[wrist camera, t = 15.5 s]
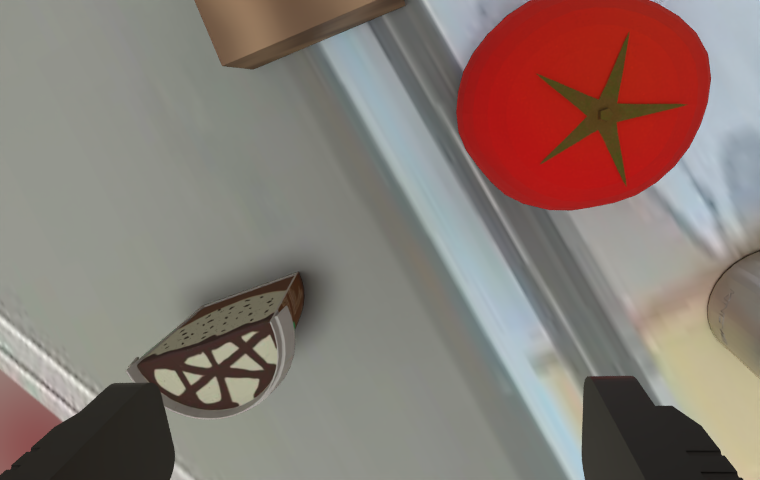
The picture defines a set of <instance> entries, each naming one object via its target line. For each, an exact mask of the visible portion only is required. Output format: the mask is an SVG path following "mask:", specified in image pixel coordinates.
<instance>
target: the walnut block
mask: <svg viewBox="0 0 760 480" xmlns="http://www.w3.org/2000/svg"><path fill="white" fill-rule="evenodd" d="M195 3H196V5H197V8H198V10H199V12H200V15H201V17H202V19H203V22H204V24H205V26H206V29H207V31H208V34H209V36H210V38H211V41H212V43H213V45H214V48H215V50H216V52H217V55H218V57H219V60H220V62H221V64H222V66H227V67H236V68H245V69H255V68H258V67H260V66H263V65H265V64H267V63H270V62H272V61H274V60H277V59H279V58H282V57H284V56H286V55H289V54H291V53H293V52H296V51H298V50H301V49H303V48H305V47H308V46H310V45H313V44H315V43H317V42H320V41H322V40H324V39H327V38H329V37H332V36H334V35H336V34H339V33H341V32H343V31H346V30H348V29H351V28H353V27H355V26H358V25H360V24H363V23H365V22H367V21H370V20H372V19H374V18H377V17H379V16H382V15H384V14H386V13H389V12H391V11H394V10H396V9H398V8H401V7H403V6H405V2H404V0H195Z"/></svg>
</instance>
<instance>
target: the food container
mask: <svg viewBox="0 0 760 480" xmlns="http://www.w3.org/2000/svg"><path fill="white" fill-rule="evenodd" d="M303 305H304V288H303V283H302V279H301V277H300V274H299V272H296V273H293V274H290V275H288V276H285V277H282V278H279V279H276V280H274V281H271V282H268V283H265V284H262V285H260V286H257V287H254V288H251V289H248V290H246V291H243V292H240V293H237V294H234V295H232V296H229V297H226V298H223V299H220V300H218V301H215V302H212V303H209V304H206V305H204V306H202V307H201V308H199V309H198V310H197V311H196V312H195V313H194V314H192V315H191V316H190V317H189V318H188V319H186V320H185V321H184V322H183V323H182V324H180V325H179V326H178V327H177V328H176V329H174V330H173V331H172V332H171V333H170V334H168V335H167V336H166V337H165V338H164V339H162V340H161V341H160V342H159V343H158V344H156V345H155V346H154V347H153V348H152V349H150V350H149V351H148V352H147V353H146V354H144V355H143V356H142V357H141V358H140V359H139V357H137V358H135V359H134V361H133V362H132V363H131V364H130V365H129V366H128V369H127V370H126V372H127V374H128V375H129V377H130V378H131V379H132V381H133V382H134V383H154V384H156V385H157V386H158V388H159V390H160V392H161V395H162V399H163V403H164V408H166V409H168V410H170V411H172V412H175V413H178V414H181V415H184V416H187V417H192V418H197V419H209V420H210V419H223V418H227V417H232V416H235V415H237V414H240V413H242V412H244V411H247V410H249V409H251V408H253V407H254V406H256V405H258V404H259V403H260V402H262V401H263V400H264V399H265V398H266V397H267V396H268V395H270V394H271V393H272V392H273V391H274V390H275V389H276V388H277V387H278V386H279V384H280V383H281V382H282V381H283V379H284V378H285V376H286V374H287V372H288V371H289V369H290V366H291V363H292V360H293V357H294V350H295V328H296V326H297V323H298V320H299V318H300V315H301V313H302V309H303Z"/></svg>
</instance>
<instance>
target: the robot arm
mask: <svg viewBox="0 0 760 480" xmlns="http://www.w3.org/2000/svg"><path fill="white" fill-rule="evenodd" d="M708 320H709V324H710V327H711V330H712V332H713V333H714V335H715V337H716V339H717V340H718V341H719V342H720V343H721V344H722V345H723V346H724V347H725V348H726V349H728V350H729V351H730V352H731V353H732V354H733V355H734V356H735V357H736V358H738V359H739V360H740V361H741V362H742V363H743V364H744V365H745V366H746V367H747V368H749V370H751V371H752V372H753V373H754V374H755V375H756V376H757V377H758V378H759V379H760V251H759V252H757V253H754V254H752V255H749V256H747V257H745V258H744V259H742V260H740V261H739V262H737V263H736V264H734V265H733V266H732V267H731V268H730V269H729V270H728V271H726V272H725V273H724V274H723V276H722V277H721V278H720V280H719V281H718V282H717V284H716V285H715V287H714V289H713V292H712V294H711V296H710V300H709V305H708ZM174 461H175V451H174V445H173V441H172V437H171V433H170V429H169V424H168V420H167V416H166V412H165V408H164V403H163V399H162V395H161V392H160V390H159V388H158V386H157V385H156V384H154V383H114V384H111V385H110V386H108V387H107V388H106V389H105V390H104V391H103V392H101V393H100V394H99V395H98V396H97V397H96V398H95V399H94V400H93V401H91V402H90V403H89V404H88V405H87V406H86V407H85V408H84V409H83V410H82V411H80V412H79V413H78V414H76V415H74V416H73V417H71V418H69V419H67V420H66V421H64V422H62V423H61V424H59V425H57V426H56V427H54V428H53V429H52V430H51V431H50V432H49V433H47V435H45V436H44V437H43V438H42V439H41V440H40V441H38V442H37V443H36V444H35V445H34V446H33V447H32V448H31V451H30V452H26V453H25V454H24V455H23V456H21V457H20V458H19V459H18V460H17V461H16V462H15V463H13V464H12V467H11V469H10V470H6V471H4V472H3V473H2V474H1V475H0V480H170V478H171V475H172V472H173V468H174ZM582 464H583V471H584V476H585V480H743V479H742V478H739V477H738V474H737V471H736V470H735V468H734V467H733V466H732V465H731V463H730V462H729V461H728V459H727V458H726V457H725V456H722V455H721V451H720V449H719V448H718V447H717V445H716V444H715V443H714V442H713V440H712V439H711V438H710V436H709V435H708V434H707V433H706V431H705V430H704V429H703V428H702V426H701V425H699V424H698V423H696V422H695V421H693V420H692V419H690V418H689V417H687V416H686V415H685V414H683V413H682V412H680V411H679V410H677V409H676V408H674V407H673V406H655V405H654V404H653V402H652V401H651V399H650V398H649V396H648V395H647V394H646V392H645V391H644V389H643V388H642V386H641V385H640V383H639V382H638V380H637V379H636V378H635V377H634V376H590V377H587V378H586V379H585V382H584V393H583V425H582Z"/></svg>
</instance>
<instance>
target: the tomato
mask: <svg viewBox="0 0 760 480" xmlns="http://www.w3.org/2000/svg"><path fill="white" fill-rule="evenodd" d="M710 82H711V74H710V66H709V58H708V53H707V51H706V49H705V48H704V46H703V44H702V42H701V40H700V39H699V37H698V35H697V33H696V32H695V31H694V30H693V29H692V28H691V27H690V26H689V25H688V24H687V23H685V22H684V21H683V20H682V19H681V18H680V17H679V16H678V15H676V14H674V13H673V12H671V11H669V10H668V9H666V8H664V7H663V6H661V5H659V4H657V3H655V2H652V1H650V0H531V1H528V2H527V3H525V4H524V5H522V6H521V7H519V8H518V9H516V10H515V11H513V12H512V13H510V14H509V15H507V16H506V17H505V18H504V19H503V20H502V21H501V22H500V23H499V24H498V25H497V26H496V27H495V28H494V29H493V30H492V31H491V32H490V33H489V34H487V36H486V37H485V38H484V40H483V41H482V42H481V43H480V45H479V46H478V47H477V49H476V50H475V51H474V52H473V54H472V56H471V58H470V60H469V62H468V64H467V66H466V68H465V70H464V71H463V75H462V79H461V83H460V87H459V91H458V99H457V110H456V114H457V123H458V131H459V134H460V137H461V139H462V141H463V144H464V146H465V149H466V151H467V152H468V153H469V155H470V156H471V157H472V159H473V160H474V162H475V163H476V165H477V166H478V167H479V168H480V169H481V171H482V172H483V173H484V174H485V175H486V177H487V178H488V179H489V180H490V181H491V182H492V183H493V184H494V185H495V186H496V187H497V188H498V189H500V190H501V191H502V192H503V193H504V194H505V195H507V196H509V197H511V198H513V199H515V200H517V201H519V202H521V203H523V204H527V205H531V206H535V207H539V208H543V209H548V210H577V209H583V208H590V207H595V206H600V205H605V204H610V203H615V202H618V201H621V200H623V199H626V198H629V197H632V196H635V195H637V194H639V193H640V192H642V191H643V190H645V189H647V188H648V187H650V186H651V185H653V184H655V183H656V182H658V181H659V180H660V179H661V178H662V177H663V176H664V175H665V174H666V173H668V172H669V171H670V170H671V169H672V168H673V167H674V166H675V165H676V164H677V162H678V161H679V160H680V159H681V157H682V156H683V155H684V153H685V152H686V151H687V149H688V148H689V147H690V145H691V143H692V141H693V139H694V137H695V135H696V133H697V131H698V129H699V127H700V125H701V122H702V119H703V116H704V113H705V109H706V106H707V103H708V97H709V89H710Z"/></svg>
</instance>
